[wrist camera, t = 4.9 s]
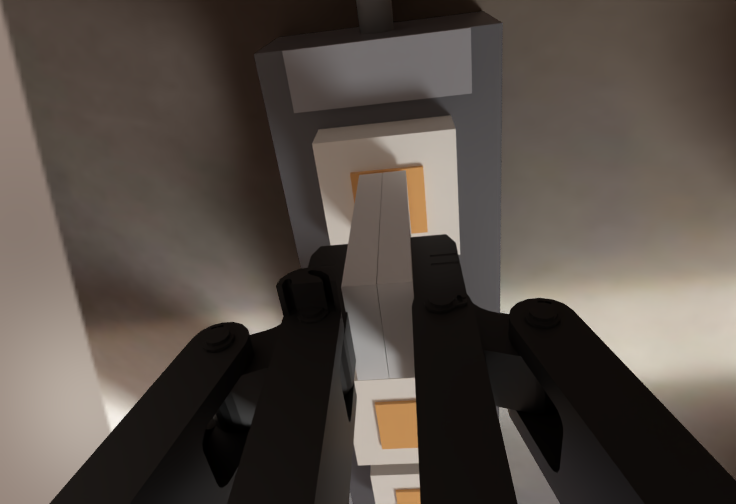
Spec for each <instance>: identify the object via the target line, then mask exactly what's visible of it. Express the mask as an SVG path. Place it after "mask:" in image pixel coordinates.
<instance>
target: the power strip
mask: <svg viewBox="0 0 736 504" xmlns="http://www.w3.org/2000/svg"><path fill="white" fill-rule="evenodd" d="M356 3H357V11H358V20H359V27H356V28H348V29H340V30H332V31H324V32H316V33H309V34H301V35H293V36H285V37H278V38H277V39H275V40H274V41H272V42H271V43H269V44H268V45H266V46H265V47H263V48H262V49H260V50H259V51H257V52H256V53H254V58H255V63H256V67H257V72H258V76H259V81H260V85H261V90H262V94H263V99H264V103H265V108H266V112H267V117H268V121H269V126H270V131H271V135H272V140H273V144H274V149H275V153H276V158H277V162H278V167H279V171H280V176H281V180H282V185H283V189H284V194H285V198H286V203H287V207H288V212H289V217H290V221H291V226H292V230H293V235H294V239H295V244H296V248H297V253H298V257H299V262H300V266H301V269H303V268H308V265H309V261H310V258H311V255H312V254H313V253H314V252H315V251H316V250H317V249H318V248H319V247H320V246H329V245H330V240H329V234H328V229H327V223H326V218H325V212H324V207H323V201H322V196H321V190H320V185H319V179H318V174H317V168H316V163H315V157H314V152H313V146H312V143H313V141H314V138H315V136H316V134H317V132H318V130H319V129H327V128H337V127H346V126H355V125H364V124H374V123H383V122H392V121H402V120H411V119H420V118H429V117H439V116H448V115H451V117H452V120H453V122H454V125H455V128H456V150H457V178H458V206H459V233H460V255H458V256H459V260H460V265H461V269H462V274H463V278H464V283H465V287H466V292H467V295H469V297H470V299H471V300H472V302H473V303H474V304H475V305H477V306H478V307H480V308H483V309H485V310H488V311H492V312H497V313H500V239H501V133H502V26H503V23H502V22H500V21H498V20H497V19H495V18H494V17H492V16H490V15H489V14H487V13H485V12H484V11H481V12H473V13H465V14H457V15H450V16H442V17H434V18H426V19H418V20H410V21H403V22H395V23H393V13H392V2H391V0H356ZM496 410H497V414H498V419H499V407H498V406H496ZM370 471H371V465H358V463H357V458H356V453H355V448H354V443H353V455H352V467H351V480H350V493H351V497H352V502H353V504H375V499H374V493H373V488H372V482H371V477H370Z"/></svg>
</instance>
